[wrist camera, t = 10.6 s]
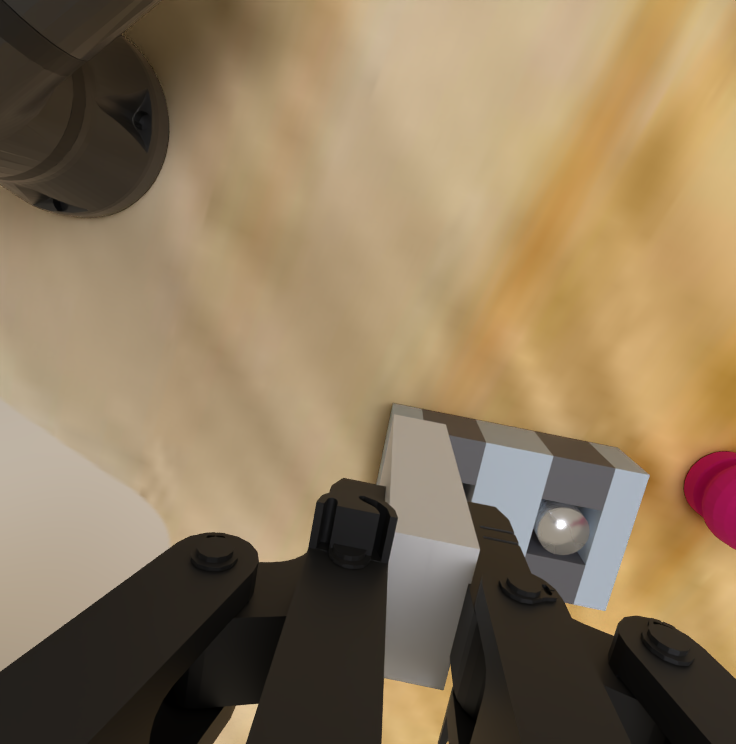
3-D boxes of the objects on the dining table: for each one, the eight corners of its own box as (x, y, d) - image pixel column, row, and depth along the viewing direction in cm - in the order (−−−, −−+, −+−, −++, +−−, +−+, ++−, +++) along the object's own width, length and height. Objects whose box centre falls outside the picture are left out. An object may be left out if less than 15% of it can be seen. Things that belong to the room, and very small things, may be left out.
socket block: (367, 525, 49) (363, 561, 43) (392, 403, 46) (391, 423, 40) (580, 568, 48) (605, 611, 42) (617, 447, 46) (649, 475, 40)
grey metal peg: (516, 515, 47) (532, 549, 42) (527, 474, 46) (544, 504, 41) (560, 523, 47) (581, 559, 42) (571, 483, 46) (595, 514, 41)
